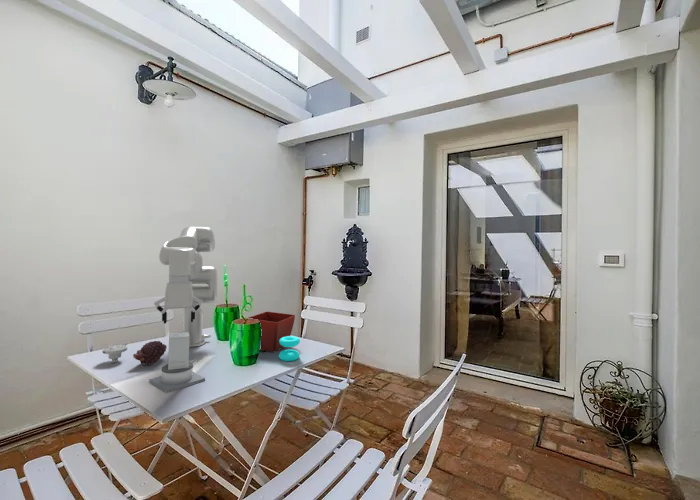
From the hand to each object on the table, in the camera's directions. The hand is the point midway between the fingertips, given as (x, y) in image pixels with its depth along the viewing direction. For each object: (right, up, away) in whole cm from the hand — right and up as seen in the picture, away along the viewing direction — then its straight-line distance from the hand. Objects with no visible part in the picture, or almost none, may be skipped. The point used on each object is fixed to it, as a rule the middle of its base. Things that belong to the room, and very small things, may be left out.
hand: (178, 321), depth 135 cm
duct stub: (-1, -24, 0) cm, 24 cm away
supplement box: (0, -18, 0) cm, 18 cm away
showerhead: (-39, -22, +19) cm, 49 cm away
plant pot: (+26, -24, +46) cm, 58 cm away
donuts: (+39, -25, +30) cm, 55 cm away
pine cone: (-22, -23, +19) cm, 37 cm away
